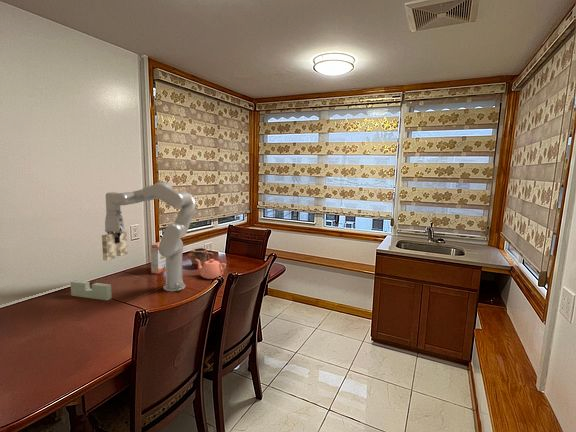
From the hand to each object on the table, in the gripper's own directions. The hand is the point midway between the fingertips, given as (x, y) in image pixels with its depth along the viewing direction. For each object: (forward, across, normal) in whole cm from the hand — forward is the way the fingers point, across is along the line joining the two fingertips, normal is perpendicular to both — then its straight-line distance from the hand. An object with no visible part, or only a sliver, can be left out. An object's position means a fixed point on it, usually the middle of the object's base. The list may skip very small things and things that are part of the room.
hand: (115, 242), depth 185 cm
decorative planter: (+27, -31, -48) cm, 63 cm away
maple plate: (+9, 0, 0) cm, 9 cm away
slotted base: (+27, -1, +20) cm, 33 cm away
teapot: (+28, -47, -32) cm, 63 cm away
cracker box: (+27, -8, -32) cm, 43 cm away
